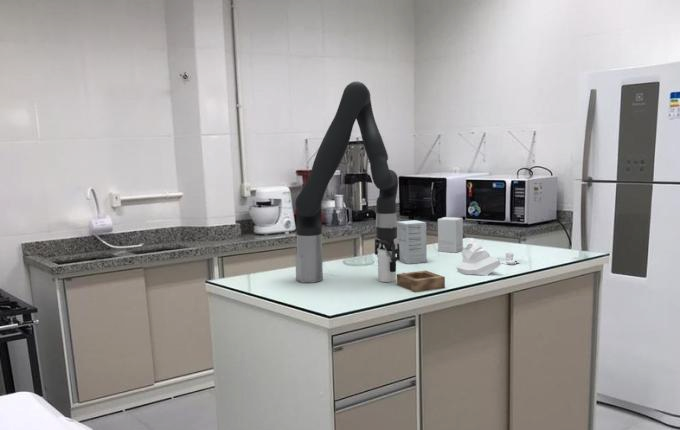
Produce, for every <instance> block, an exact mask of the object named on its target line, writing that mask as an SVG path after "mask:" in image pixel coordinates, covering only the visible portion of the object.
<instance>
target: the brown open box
mask: <svg viewBox="0 0 680 430" xmlns="http://www.w3.org/2000/svg"><path fill="white" fill-rule="evenodd" d="M396 286H399V287H402V288H404V289H406V290H409V291H411V292H414V293H420V292H426V291H432V290H439V289H445V288H446V276H443V275H440V274H437V273H434V272H431V271H429V270H419V271H412V272H411V271H410V272H403V273H396Z"/></svg>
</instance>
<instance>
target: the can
mask: <svg viewBox="0 0 680 430" xmlns="http://www.w3.org/2000/svg"><path fill="white" fill-rule="evenodd" d="M377 251H378V250H377ZM388 252H389V253H392V251H388ZM391 257H392V256H391ZM377 267H378V268H377V280H378V281H379V282H380V283H386V284H389V283H394V282H396V281H397V270H396V271H395V272H390V260H389V257H388V256H387V255H386V250H384V249H380V248H379V251H378V257H377Z"/></svg>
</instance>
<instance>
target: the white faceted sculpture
mask: <svg viewBox="0 0 680 430" xmlns="http://www.w3.org/2000/svg"><path fill="white" fill-rule="evenodd" d="M461 255H462V262H461V263H460V264H459V265H457V266H456V270H457V272H458V273H461V274H464V275H479V276H486V275H487V276H488V275H489V274H491V273H492V272H494V270H496V269H498V268H499V267H500V266H501V265H502V263H500V261H501V260H500V259H497V258H496V257H495V258H494V257H491V256H490V253H489V252H488V251H487V250H485V248H483V246H482V245H480V244H479V243H478V239H476V238H473V237H471V238H470V239H469V240H468V243H467V244H466V246H465V248H463V250H461Z"/></svg>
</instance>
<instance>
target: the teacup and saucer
mask: <svg viewBox="0 0 680 430" xmlns="http://www.w3.org/2000/svg"><path fill="white" fill-rule="evenodd" d="M501 261H505V264H506V265H516V264H515V263H516V262H515V261H516V260H514V253H512V252H506V253H505V260H500V263H501ZM501 264H502V263H501Z"/></svg>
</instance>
